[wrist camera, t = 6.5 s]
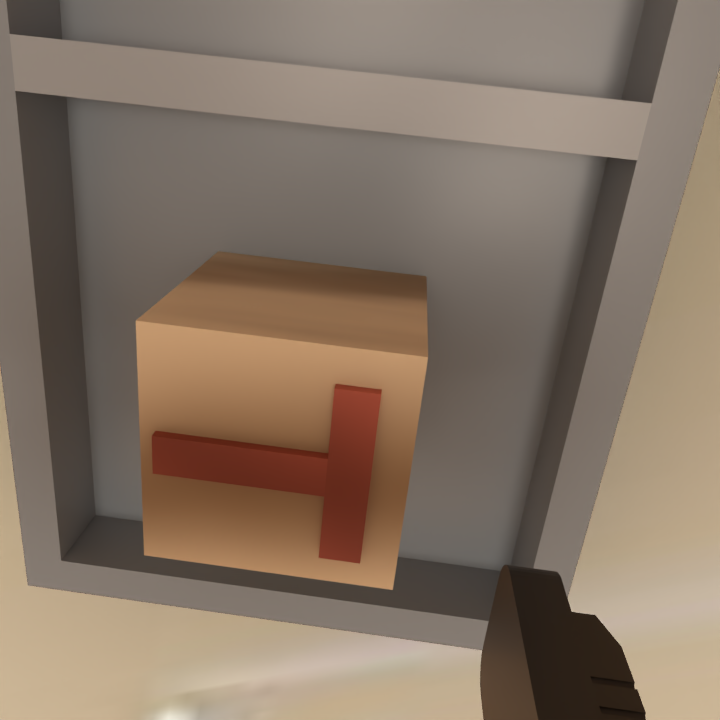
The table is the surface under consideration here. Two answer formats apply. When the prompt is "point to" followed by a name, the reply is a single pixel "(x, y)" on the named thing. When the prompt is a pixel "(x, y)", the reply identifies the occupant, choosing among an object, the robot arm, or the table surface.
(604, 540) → the table surface
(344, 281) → the letter cube
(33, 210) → the tray
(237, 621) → the table surface
